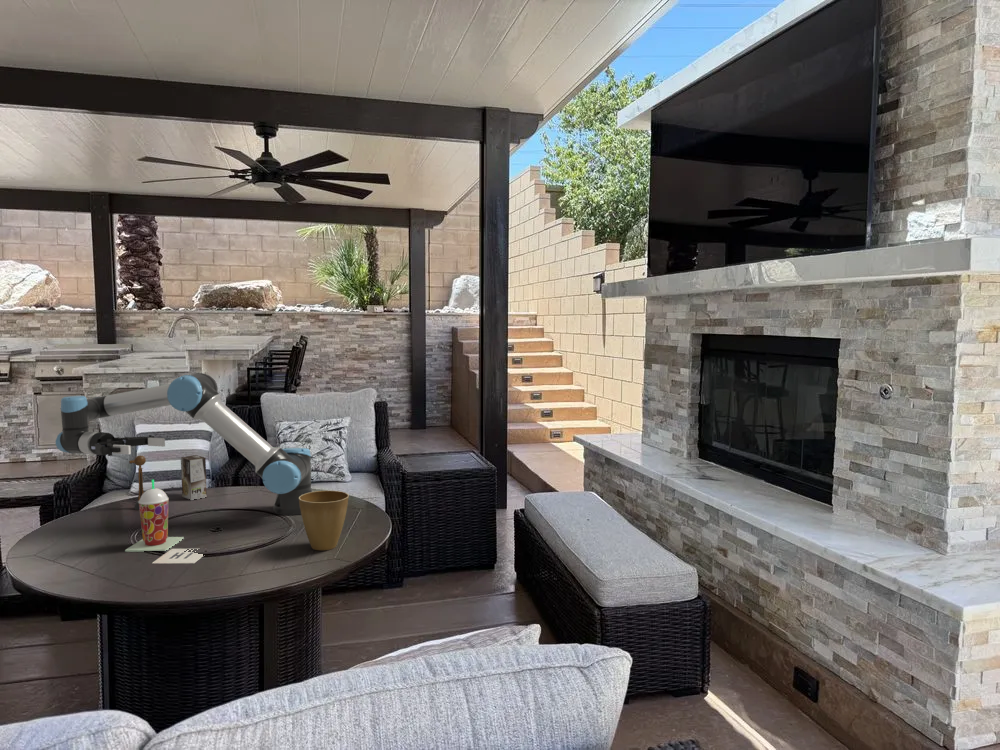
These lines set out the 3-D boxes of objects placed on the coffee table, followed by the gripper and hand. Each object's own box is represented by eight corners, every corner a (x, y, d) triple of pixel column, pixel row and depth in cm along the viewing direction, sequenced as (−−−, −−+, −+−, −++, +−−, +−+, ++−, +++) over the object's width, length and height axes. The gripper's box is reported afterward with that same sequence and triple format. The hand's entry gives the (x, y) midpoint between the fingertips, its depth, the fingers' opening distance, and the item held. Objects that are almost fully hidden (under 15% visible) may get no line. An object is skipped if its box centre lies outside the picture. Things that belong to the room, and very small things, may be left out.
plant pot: (331, 557, 194) (330, 504, 193) (289, 551, 199) (288, 499, 198) (358, 541, 208) (358, 492, 206) (319, 536, 213) (318, 488, 212)
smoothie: (147, 538, 208) (144, 476, 207) (175, 538, 209) (172, 476, 207) (135, 547, 200) (132, 483, 198) (163, 547, 201) (161, 482, 199)
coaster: (183, 538, 210) (183, 536, 210) (165, 551, 198) (165, 549, 198) (145, 538, 210) (145, 537, 210) (125, 551, 198) (125, 549, 198)
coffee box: (207, 497, 260) (206, 457, 259) (190, 500, 255) (189, 460, 254) (197, 493, 266) (196, 454, 265) (181, 496, 262) (180, 456, 260)
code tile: (211, 549, 201) (211, 548, 201) (194, 563, 189) (194, 562, 189) (171, 549, 200) (171, 548, 200) (151, 563, 188) (151, 562, 188)
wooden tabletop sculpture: (133, 511, 241) (130, 457, 239) (129, 508, 244) (127, 455, 243) (150, 508, 245) (148, 455, 243) (147, 505, 248) (145, 453, 247)
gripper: (130, 447, 233) (177, 450, 226) (63, 461, 209) (114, 465, 203) (128, 426, 232) (176, 428, 226) (62, 438, 209) (113, 441, 202)
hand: (147, 446), depth 214 cm, fingers open, 13 cm apart
